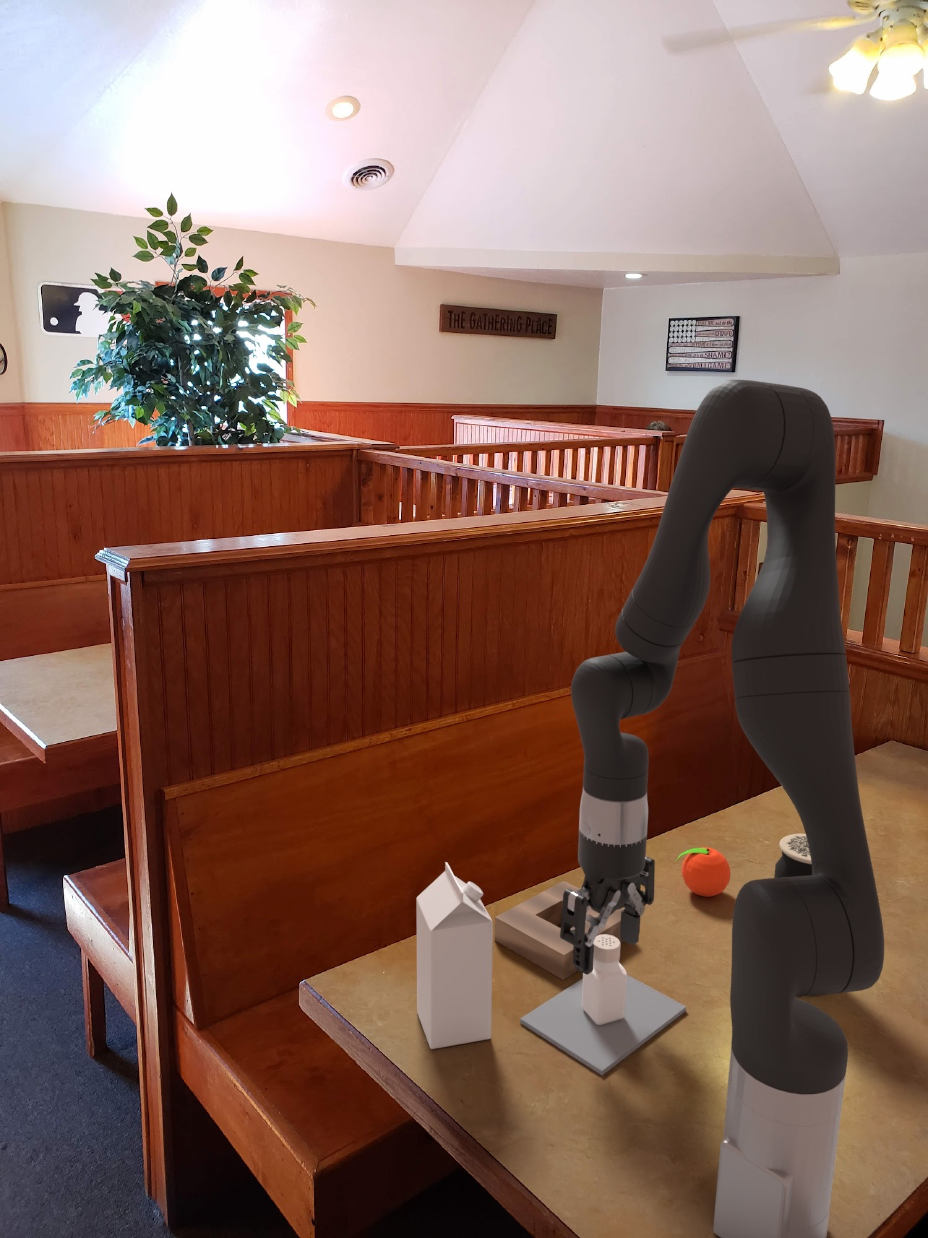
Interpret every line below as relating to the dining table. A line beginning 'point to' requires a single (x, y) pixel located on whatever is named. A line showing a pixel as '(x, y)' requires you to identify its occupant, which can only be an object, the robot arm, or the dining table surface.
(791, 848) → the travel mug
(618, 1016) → the salt shaker
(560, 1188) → the dining table surface
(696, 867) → the clementine
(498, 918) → the shaker holder
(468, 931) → the milk carton
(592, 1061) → the placemat
